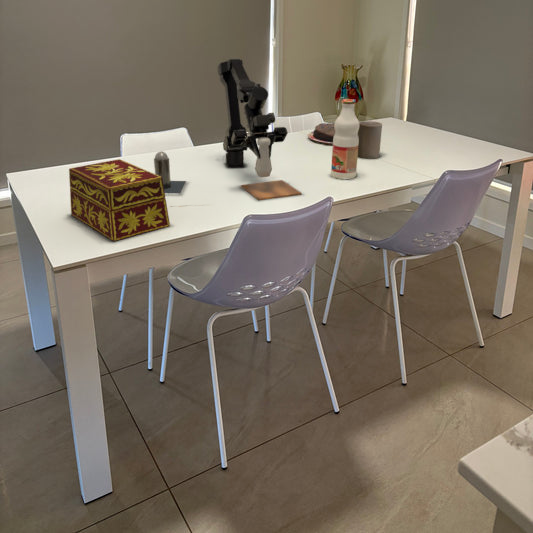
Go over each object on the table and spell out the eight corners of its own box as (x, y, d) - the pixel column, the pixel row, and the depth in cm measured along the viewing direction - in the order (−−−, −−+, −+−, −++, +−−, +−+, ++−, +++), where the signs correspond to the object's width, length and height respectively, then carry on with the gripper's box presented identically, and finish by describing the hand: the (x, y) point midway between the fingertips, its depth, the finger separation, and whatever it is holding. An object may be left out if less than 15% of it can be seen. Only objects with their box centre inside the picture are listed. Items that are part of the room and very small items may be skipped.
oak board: (281, 181, 215) (281, 180, 215) (301, 194, 202) (301, 192, 201) (241, 186, 209) (240, 185, 209) (258, 200, 196) (258, 198, 196)
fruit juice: (357, 179, 218) (363, 102, 206) (332, 179, 218) (336, 102, 206) (354, 172, 226) (360, 97, 214) (329, 172, 226) (334, 97, 214)
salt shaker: (251, 174, 203) (251, 137, 197) (265, 172, 206) (265, 135, 200) (261, 179, 198) (261, 140, 193) (275, 176, 201) (275, 138, 196)
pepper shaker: (170, 184, 209) (168, 149, 204) (170, 188, 204) (168, 153, 199) (156, 184, 208) (153, 150, 203) (155, 189, 204) (153, 154, 198)
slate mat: (186, 182, 213) (186, 181, 212) (180, 195, 200) (180, 193, 200) (147, 181, 213) (147, 180, 213) (139, 194, 200) (139, 192, 200)
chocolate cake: (371, 146, 263) (373, 132, 260) (309, 146, 263) (310, 131, 260) (363, 132, 288) (364, 119, 285) (306, 131, 288) (306, 118, 285)
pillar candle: (353, 157, 246) (356, 121, 240) (359, 152, 254) (362, 116, 248) (376, 160, 243) (380, 123, 236) (381, 154, 251) (385, 118, 244)
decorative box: (70, 214, 182) (64, 167, 175) (124, 202, 193) (120, 157, 187) (113, 241, 163) (107, 190, 157) (170, 226, 174) (167, 177, 168)
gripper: (233, 105, 192) (243, 147, 188) (286, 102, 198) (297, 143, 193) (227, 124, 203) (236, 164, 198) (278, 121, 208) (288, 160, 204)
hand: (264, 157), depth 198 cm, fingers closed on salt shaker, 3 cm apart
